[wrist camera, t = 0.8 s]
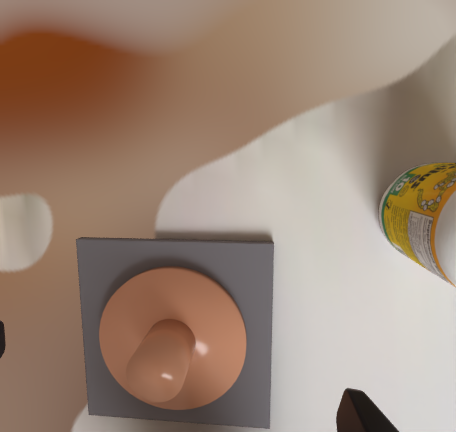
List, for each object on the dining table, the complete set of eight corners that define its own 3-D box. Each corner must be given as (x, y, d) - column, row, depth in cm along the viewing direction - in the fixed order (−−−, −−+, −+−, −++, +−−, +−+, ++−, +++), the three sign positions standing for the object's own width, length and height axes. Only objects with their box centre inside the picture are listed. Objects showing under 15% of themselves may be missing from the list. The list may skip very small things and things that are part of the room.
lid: (246, 405, 21) (242, 460, 17) (109, 396, 22) (76, 446, 18) (247, 268, 20) (244, 294, 16) (100, 263, 21) (63, 287, 17)
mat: (269, 421, 22) (269, 428, 21) (93, 408, 23) (88, 414, 23) (273, 241, 20) (273, 244, 19) (81, 237, 21) (76, 239, 21)
